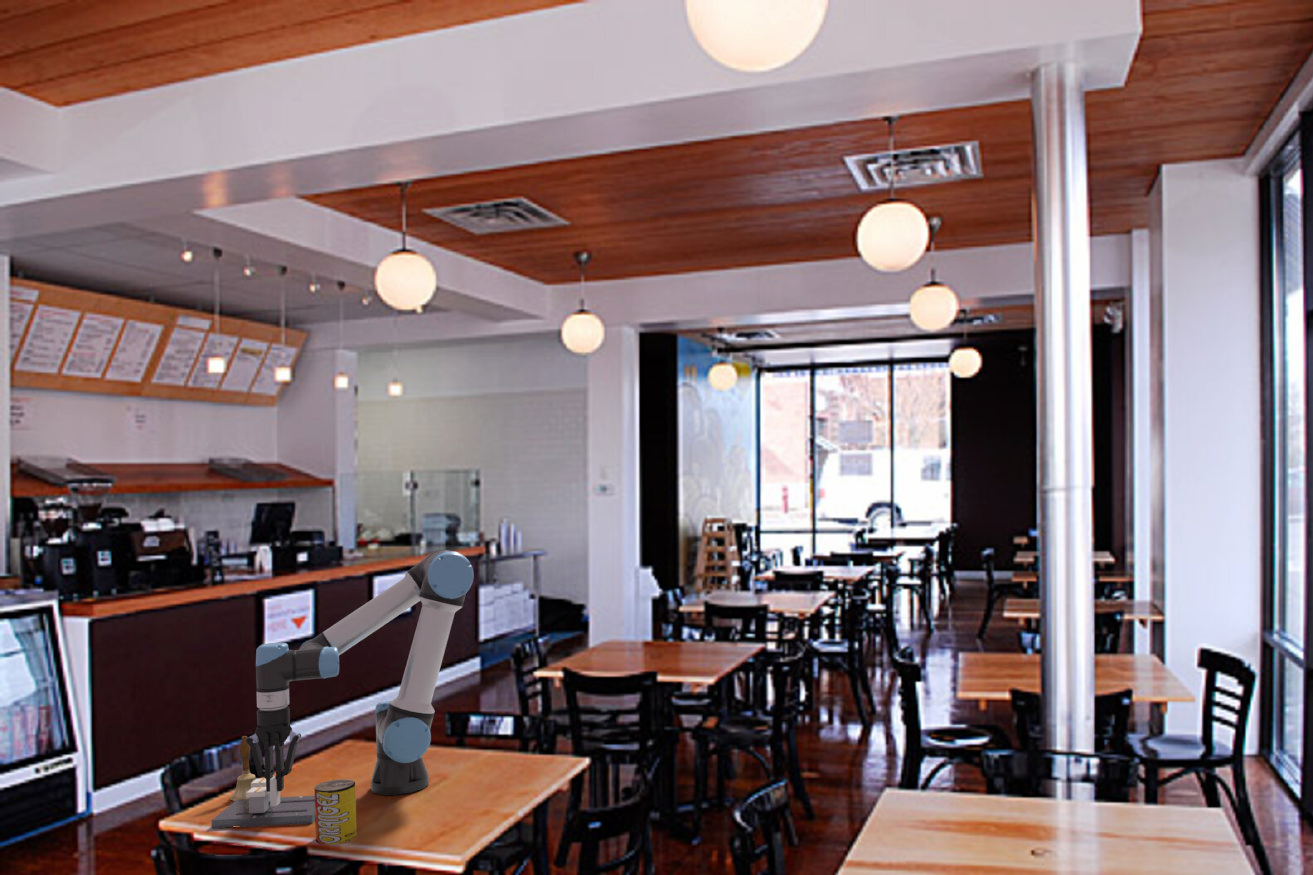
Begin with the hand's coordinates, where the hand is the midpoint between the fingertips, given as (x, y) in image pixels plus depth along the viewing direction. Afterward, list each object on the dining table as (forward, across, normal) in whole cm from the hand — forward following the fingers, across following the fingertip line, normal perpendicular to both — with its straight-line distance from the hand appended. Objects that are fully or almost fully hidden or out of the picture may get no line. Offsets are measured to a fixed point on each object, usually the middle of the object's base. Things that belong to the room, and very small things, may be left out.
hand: (275, 804), depth 248 cm
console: (+4, -2, +4) cm, 6 cm away
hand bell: (+4, -15, +21) cm, 26 cm away
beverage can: (+4, +19, -15) cm, 24 cm away
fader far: (+1, -6, +8) cm, 10 cm away
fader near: (+1, -4, 0) cm, 4 cm away
